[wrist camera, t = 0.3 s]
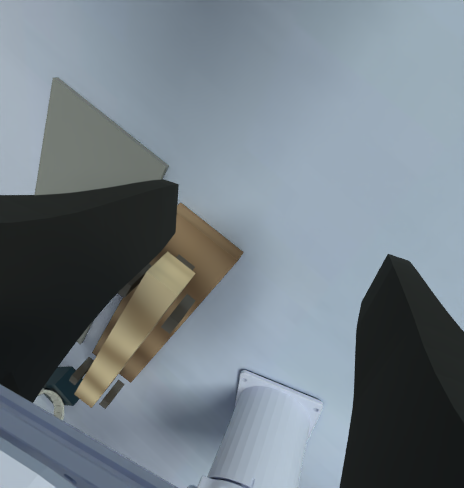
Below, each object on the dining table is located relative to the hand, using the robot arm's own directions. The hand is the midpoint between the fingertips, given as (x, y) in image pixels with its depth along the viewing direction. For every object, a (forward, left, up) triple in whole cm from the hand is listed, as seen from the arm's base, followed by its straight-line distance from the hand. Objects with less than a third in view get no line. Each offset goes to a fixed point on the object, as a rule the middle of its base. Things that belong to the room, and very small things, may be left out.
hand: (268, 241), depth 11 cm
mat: (-14, +21, -10) cm, 27 cm away
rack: (-18, +12, -10) cm, 24 cm away
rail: (-18, +12, -6) cm, 23 cm away
